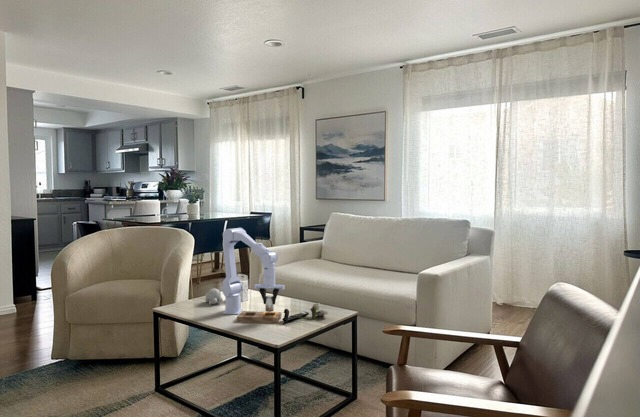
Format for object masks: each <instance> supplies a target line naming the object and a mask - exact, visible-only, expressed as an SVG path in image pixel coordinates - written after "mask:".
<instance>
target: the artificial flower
mask: <svg viewBox="0 0 640 417" xmlns="http://www.w3.org/2000/svg"><path fill="white" fill-rule="evenodd" d="M320 309H321V304H320V303H319V302H317V303H314V304H313V305H312V306H309V310H310V312H311V318H308V317H304V316H301V315H290V310H289V309H288V308H284V310H283V313H284V315H283V317H282V321H283V320H284V319H286V321H284V323H288V322H289V317H290V318H298V319H299V318H300V319H301V318H302V319H305V320H308V321H309V320H310V321H312V320H314V319H315V318H317V316H318V317H319V316H323V317H324V316H325V315H326V316H327V315H328V311H326V310H325V311H324V310H323V309H321V310H320Z"/></svg>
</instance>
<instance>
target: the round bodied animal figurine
mask: <svg viewBox="0 0 640 417" xmlns="http://www.w3.org/2000/svg"><path fill="white" fill-rule="evenodd" d="M204 294H205V300H204V302H206V303H209V305H210V306H212V305H215V304H219V303H221V302H223V300H224V299H223V297H222V294H221V290H219V289H218V288H215V287H214V288H211V289H209V290H208V291H207V293H204Z"/></svg>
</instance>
